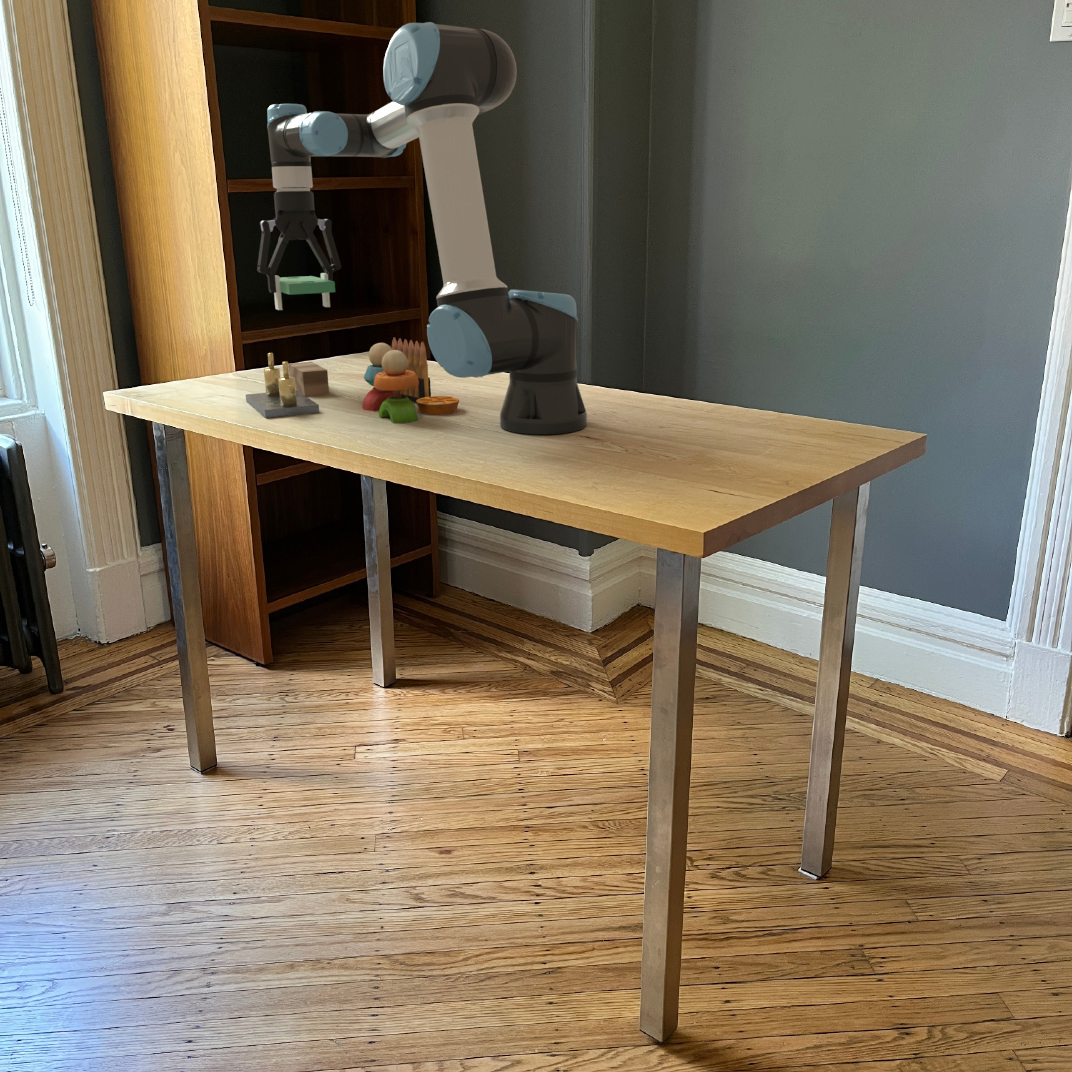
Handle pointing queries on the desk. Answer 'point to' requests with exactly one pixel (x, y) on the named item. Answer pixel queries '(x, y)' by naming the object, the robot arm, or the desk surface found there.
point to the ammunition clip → (415, 368)
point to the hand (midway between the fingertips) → (303, 307)
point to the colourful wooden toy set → (398, 388)
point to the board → (306, 285)
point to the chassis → (280, 395)
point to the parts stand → (309, 378)
